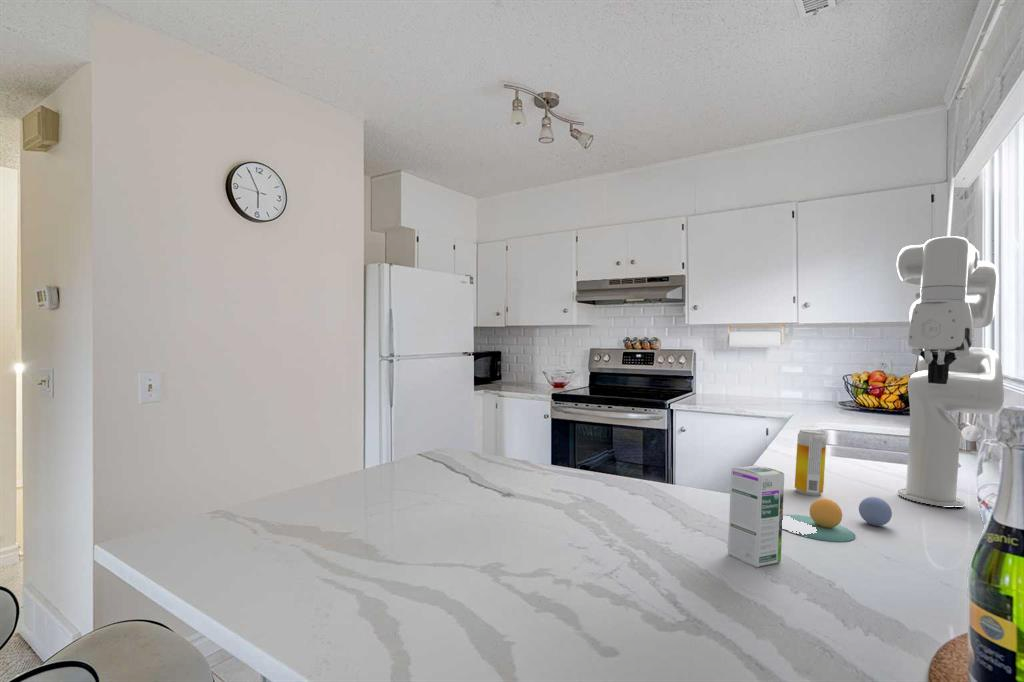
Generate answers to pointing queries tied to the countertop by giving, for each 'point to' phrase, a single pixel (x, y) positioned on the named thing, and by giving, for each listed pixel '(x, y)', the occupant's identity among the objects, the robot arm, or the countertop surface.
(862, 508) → the blue ball
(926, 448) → the robot arm
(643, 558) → the countertop surface
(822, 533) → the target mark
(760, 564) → the syrup box
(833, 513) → the orange ball
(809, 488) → the drink can
